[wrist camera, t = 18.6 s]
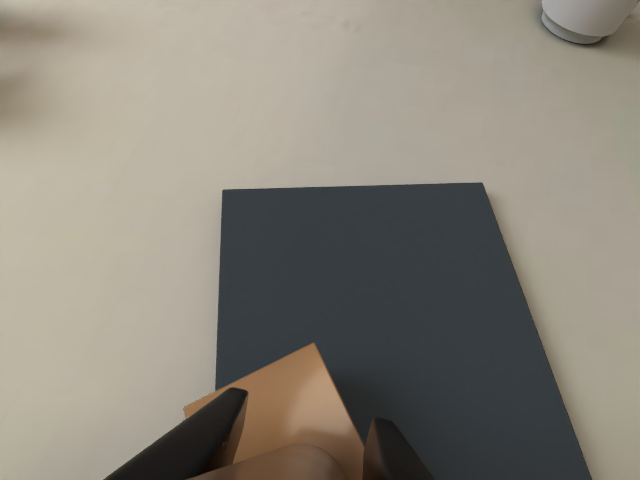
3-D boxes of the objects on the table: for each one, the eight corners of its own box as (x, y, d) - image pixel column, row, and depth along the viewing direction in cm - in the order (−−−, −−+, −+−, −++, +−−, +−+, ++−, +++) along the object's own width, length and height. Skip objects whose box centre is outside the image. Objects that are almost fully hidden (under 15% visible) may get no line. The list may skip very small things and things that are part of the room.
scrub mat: (658, 702, 12) (680, 716, 11) (205, 793, 11) (199, 817, 10) (476, 190, 22) (482, 182, 21) (224, 198, 20) (222, 189, 19)
